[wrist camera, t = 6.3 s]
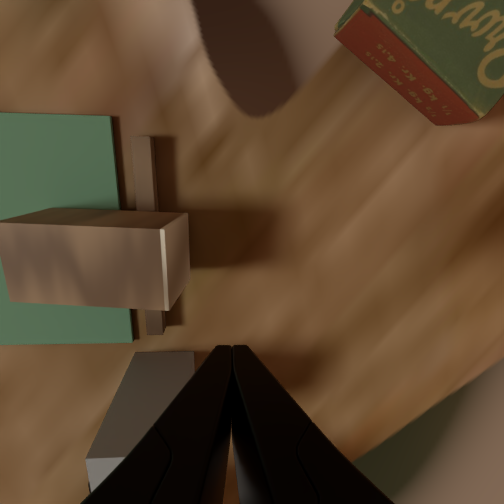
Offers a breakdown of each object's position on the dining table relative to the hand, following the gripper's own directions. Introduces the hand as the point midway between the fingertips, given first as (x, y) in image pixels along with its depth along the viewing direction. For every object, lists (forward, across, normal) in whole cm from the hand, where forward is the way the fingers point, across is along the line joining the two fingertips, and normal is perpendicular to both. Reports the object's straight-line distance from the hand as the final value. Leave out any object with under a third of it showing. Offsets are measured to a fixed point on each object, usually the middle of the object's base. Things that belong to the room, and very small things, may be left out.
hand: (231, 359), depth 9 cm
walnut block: (+8, +3, 0) cm, 9 cm away
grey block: (+12, +4, +10) cm, 16 cm away
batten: (+12, +5, 0) cm, 13 cm away
